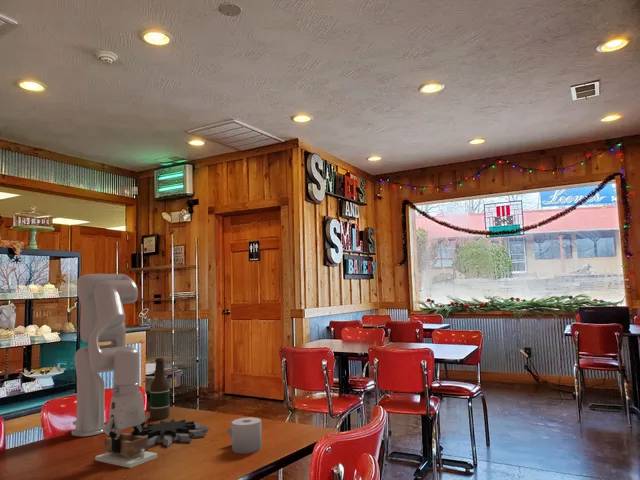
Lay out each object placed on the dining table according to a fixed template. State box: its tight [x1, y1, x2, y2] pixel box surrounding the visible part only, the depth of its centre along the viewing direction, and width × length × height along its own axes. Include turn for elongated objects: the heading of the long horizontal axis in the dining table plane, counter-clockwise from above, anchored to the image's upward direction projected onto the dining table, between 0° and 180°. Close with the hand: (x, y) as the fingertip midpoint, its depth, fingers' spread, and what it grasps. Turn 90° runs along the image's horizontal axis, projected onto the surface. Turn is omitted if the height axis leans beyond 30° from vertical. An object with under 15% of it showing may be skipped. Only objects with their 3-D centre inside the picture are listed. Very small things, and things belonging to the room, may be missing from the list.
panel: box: [95, 449, 158, 469], centre depth 153 cm, size 16×10×4 cm, turn 60°
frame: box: [104, 432, 149, 457], centre depth 153 cm, size 12×6×4 cm, turn 60°
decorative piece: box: [129, 418, 211, 449], centre depth 176 cm, size 30×4×30 cm
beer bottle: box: [149, 357, 171, 421], centre depth 205 cm, size 8×8×24 cm
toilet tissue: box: [226, 416, 263, 455], centre depth 160 cm, size 9×13×9 cm
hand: (126, 448), depth 153 cm, fingers open, 6 cm apart
